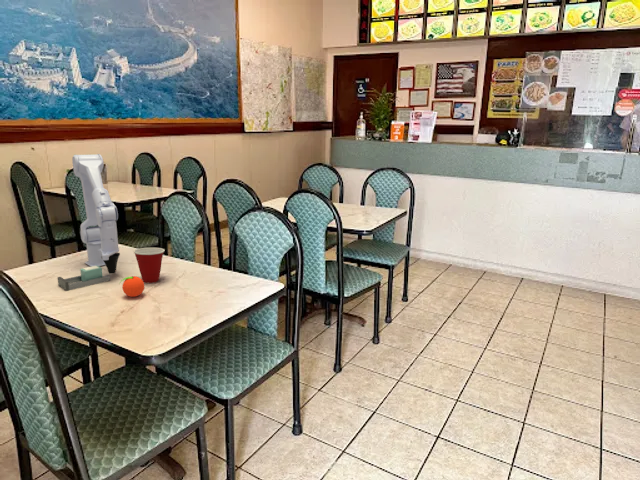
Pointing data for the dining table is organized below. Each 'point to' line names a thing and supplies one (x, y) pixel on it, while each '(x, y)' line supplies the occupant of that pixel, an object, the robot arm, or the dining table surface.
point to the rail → (67, 286)
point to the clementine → (133, 286)
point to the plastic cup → (149, 263)
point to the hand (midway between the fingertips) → (112, 272)
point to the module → (91, 273)
